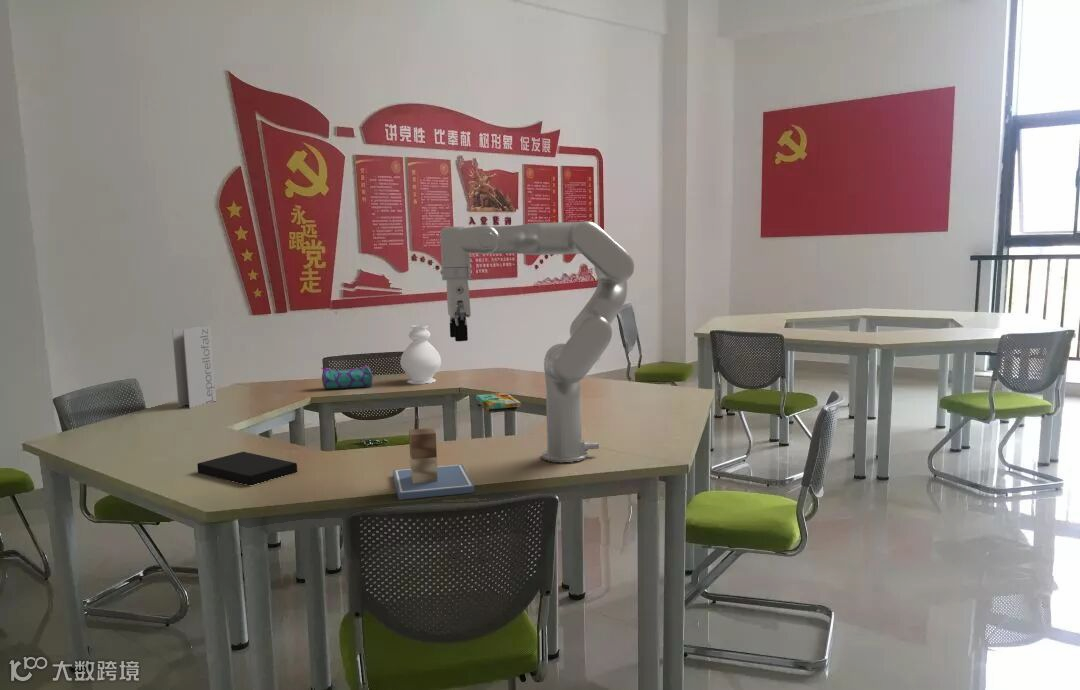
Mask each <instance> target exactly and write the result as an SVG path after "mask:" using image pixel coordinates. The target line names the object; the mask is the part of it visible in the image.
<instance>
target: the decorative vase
mask: <svg viewBox="0 0 1080 690" xmlns="http://www.w3.org/2000/svg"><path fill="white" fill-rule="evenodd" d="M427 328H429V325H428V324H415V325H410V329H412V330H411V331H409V334H408V337H409V339H410V340H411V343H410V344H409V345H408V346H407V347H406V349H405V350H404V351H403V353H402V354H401V357H400V361H399V362H400V366H401V368H402V370H403V372H404V373H405V374H406V375H407V376H408V377H409V378H410V379H409V380H407V384H409V383H410V385H426V384H425V383H429V384H433V383H432V382H434V383H436V382H437V379H435V378H434V376H435V374H436V373H437V371H438V370H439V369H440V368H441V367H440V366H441V365H442V359H441V358H442V357H441V355H440V353H439V352H438V350H437V348H435V347H434V346H433V345H432V344H431V343H430V342H429V341H428V340H429V338H430V337H431V332H430V331H429V330H428V329H427ZM435 381H436V382H435Z"/></svg>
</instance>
